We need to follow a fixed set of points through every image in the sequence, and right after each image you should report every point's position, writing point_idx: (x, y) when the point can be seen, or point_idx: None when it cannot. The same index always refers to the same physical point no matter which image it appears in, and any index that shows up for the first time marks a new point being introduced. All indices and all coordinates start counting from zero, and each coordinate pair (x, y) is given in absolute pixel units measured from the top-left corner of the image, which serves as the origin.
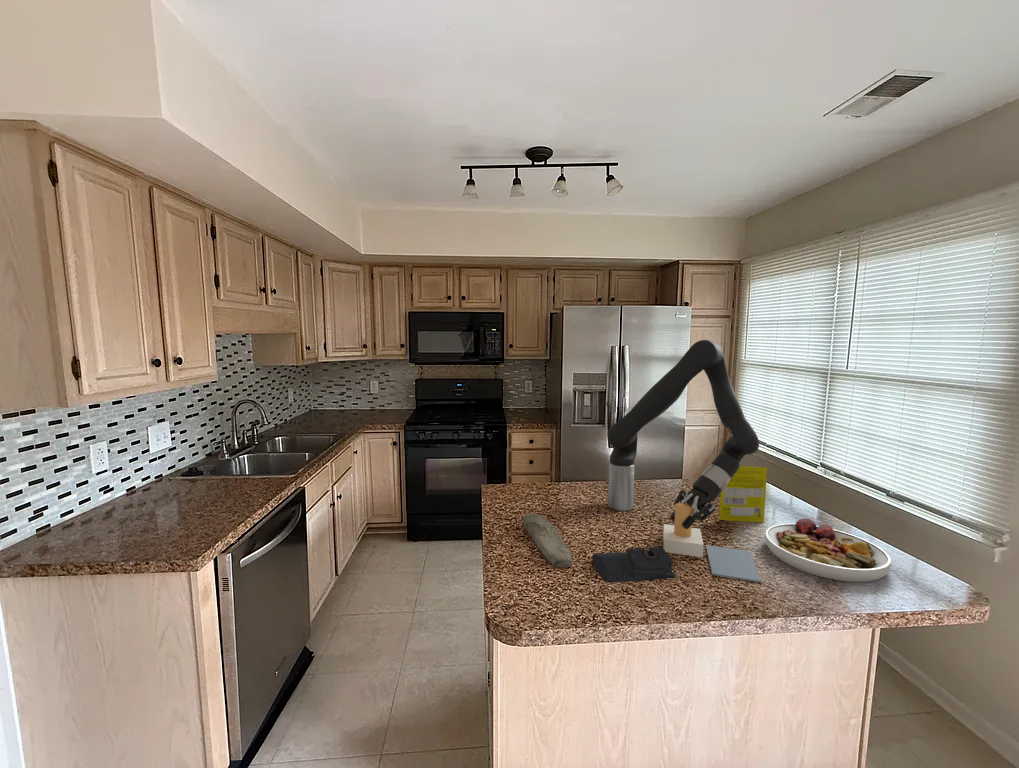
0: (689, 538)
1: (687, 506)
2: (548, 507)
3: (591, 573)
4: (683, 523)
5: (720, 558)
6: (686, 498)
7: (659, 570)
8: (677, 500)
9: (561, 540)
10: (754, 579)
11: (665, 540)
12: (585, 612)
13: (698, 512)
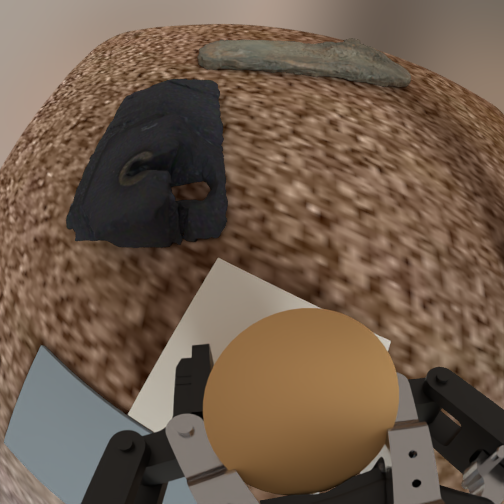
0: None
1: (284, 443)
2: (469, 130)
3: None
4: (198, 350)
5: None
6: (422, 479)
7: (86, 184)
8: (462, 399)
9: (283, 57)
10: (8, 432)
11: (214, 264)
12: (81, 78)
13: (131, 471)
